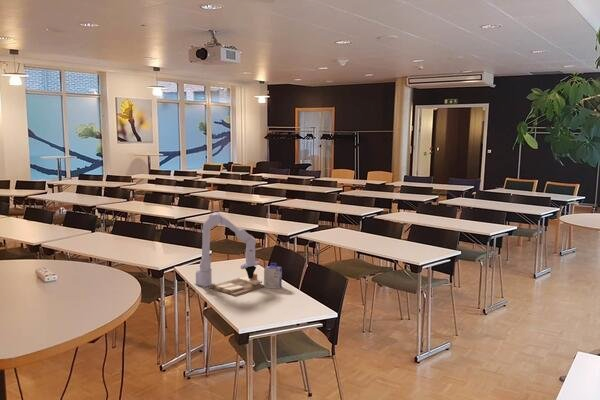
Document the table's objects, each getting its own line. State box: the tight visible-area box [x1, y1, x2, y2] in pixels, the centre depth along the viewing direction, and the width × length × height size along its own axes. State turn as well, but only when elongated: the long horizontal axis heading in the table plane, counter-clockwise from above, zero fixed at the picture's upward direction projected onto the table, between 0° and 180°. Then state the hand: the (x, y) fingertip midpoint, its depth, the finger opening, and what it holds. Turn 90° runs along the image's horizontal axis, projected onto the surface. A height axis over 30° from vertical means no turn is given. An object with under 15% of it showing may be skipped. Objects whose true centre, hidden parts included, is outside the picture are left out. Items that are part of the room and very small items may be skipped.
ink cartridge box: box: [263, 262, 283, 290], centre depth 296 cm, size 10×6×14 cm, turn 78°
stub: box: [238, 272, 263, 285], centre depth 303 cm, size 14×6×5 cm, turn 51°
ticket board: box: [208, 277, 264, 297], centre depth 294 cm, size 22×24×2 cm
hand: (250, 278), depth 303 cm, fingers closed
